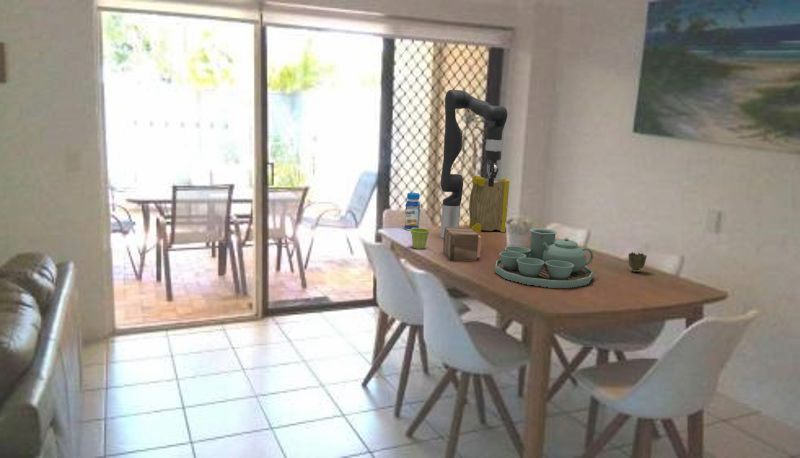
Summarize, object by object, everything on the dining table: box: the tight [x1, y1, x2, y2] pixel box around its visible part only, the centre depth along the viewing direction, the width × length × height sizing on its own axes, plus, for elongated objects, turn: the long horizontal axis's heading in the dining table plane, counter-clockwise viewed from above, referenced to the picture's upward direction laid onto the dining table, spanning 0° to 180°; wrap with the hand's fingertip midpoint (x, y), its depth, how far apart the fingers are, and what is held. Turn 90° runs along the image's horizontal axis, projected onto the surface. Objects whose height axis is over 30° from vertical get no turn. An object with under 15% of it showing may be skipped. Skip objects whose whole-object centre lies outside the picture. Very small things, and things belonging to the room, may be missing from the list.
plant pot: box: [409, 227, 431, 250], centre depth 296 cm, size 9×9×9 cm
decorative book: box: [468, 175, 510, 233], centre depth 344 cm, size 20×11×30 cm, turn 93°
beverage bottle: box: [403, 192, 421, 231], centre depth 338 cm, size 8×8×20 cm
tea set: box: [494, 227, 594, 289], centre depth 255 cm, size 40×40×16 cm
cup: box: [628, 251, 648, 273], centre depth 268 cm, size 8×7×8 cm
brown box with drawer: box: [442, 226, 480, 262], centre depth 281 cm, size 16×12×12 cm
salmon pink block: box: [477, 235, 482, 258], centre depth 281 cm, size 12×10×9 cm
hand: (490, 186), depth 291 cm, fingers closed
